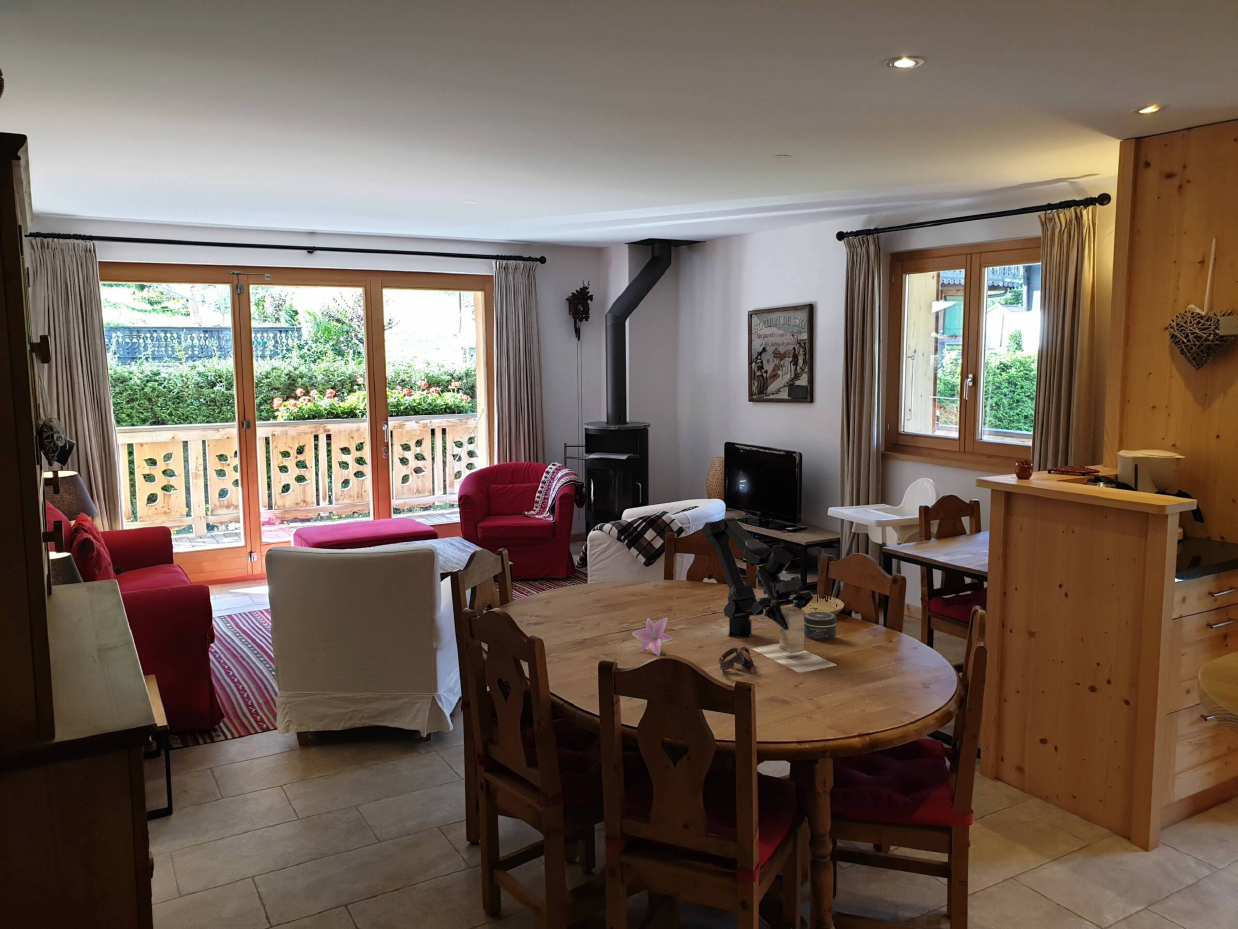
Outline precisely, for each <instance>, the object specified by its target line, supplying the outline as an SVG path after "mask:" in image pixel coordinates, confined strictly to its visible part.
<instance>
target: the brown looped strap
mask: <svg viewBox="0 0 1238 929" xmlns="http://www.w3.org/2000/svg"><path fill="white" fill-rule="evenodd" d="M731 655H733V656H732V657H731ZM729 657H730V658H729ZM718 663H719V670H721V671H722V672H725V671H727V670H733V671H735V664H736V665H741V666H748V667H749V668H750V670H749V672H750V673H751V674H754V673H755V672H756V671H757V670H756V666H755V663H754V661H753V658H752V656H751V652H750V649H749V648H748V647H747V646H741V647H739V646H735V647H731V648H729V649H727V650H726V651H725V652H723V653H722V654H721V657H719V658H718Z"/></svg>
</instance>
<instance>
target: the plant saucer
mask: <svg viewBox="0 0 1238 929" xmlns="http://www.w3.org/2000/svg"><path fill="white" fill-rule="evenodd" d="M817 595H818V602H817ZM819 595H820V594H812V596H813V599H812V600H811V601H810V602H809V603H808V605H807V606H806V607H804V608H802V610H804V611H805V612H804V615H805V614H806V613H808V612H813V611H815V610H814V609H812V608H818V609H817V610H816V611H823V612H829V613H832V614H834V615H835V616H837V615H838V614H839V613H841V611H842V610H844V609H843V608H844V606H845V603H844V602H843V601H842V600H841V599H839V598H835V597H832V596H828V597H829V598H828V602H826V601H825V598H824V599H822V598H821V599H820V598H819ZM795 596H796V594H792V595H790V598H792V597H795ZM825 596H826V600H827V595H825ZM830 597H831V600H830ZM836 604H837V607H836ZM809 605H811V606H809ZM785 606H789V605H785ZM785 606H780V608H785ZM789 607H790V606H789ZM807 607H808V608H807ZM810 608H811V609H810Z"/></svg>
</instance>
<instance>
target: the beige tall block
mask: <svg viewBox="0 0 1238 929" xmlns="http://www.w3.org/2000/svg"><path fill="white" fill-rule="evenodd" d="M781 613H782V615H783V617H784V619H785V621H786V623H787V626H788V630H785V629H784V628H782V627H781V626H780V625H779V643H780V649H782V650H784V651H786V652H788V653H795V652H800V651H804V650H805V635H804V610H801V609H799V608H796V607H794V606H791V607H785V608H781Z"/></svg>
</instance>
